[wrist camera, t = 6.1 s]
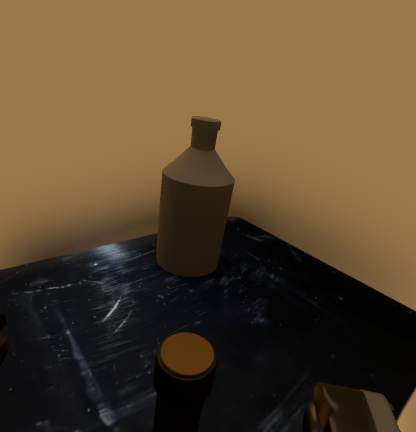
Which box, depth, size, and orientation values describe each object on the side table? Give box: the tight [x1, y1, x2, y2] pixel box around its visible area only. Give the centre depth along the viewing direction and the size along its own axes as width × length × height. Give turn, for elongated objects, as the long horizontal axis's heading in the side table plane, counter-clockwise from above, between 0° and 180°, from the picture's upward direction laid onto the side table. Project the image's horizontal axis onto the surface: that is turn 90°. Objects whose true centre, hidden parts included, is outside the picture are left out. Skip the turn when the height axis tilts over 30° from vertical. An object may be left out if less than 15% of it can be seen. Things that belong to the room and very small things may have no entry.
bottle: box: [156, 116, 235, 277], centre depth 54 cm, size 12×12×25 cm
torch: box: [152, 332, 217, 432], centre depth 26 cm, size 5×5×12 cm
